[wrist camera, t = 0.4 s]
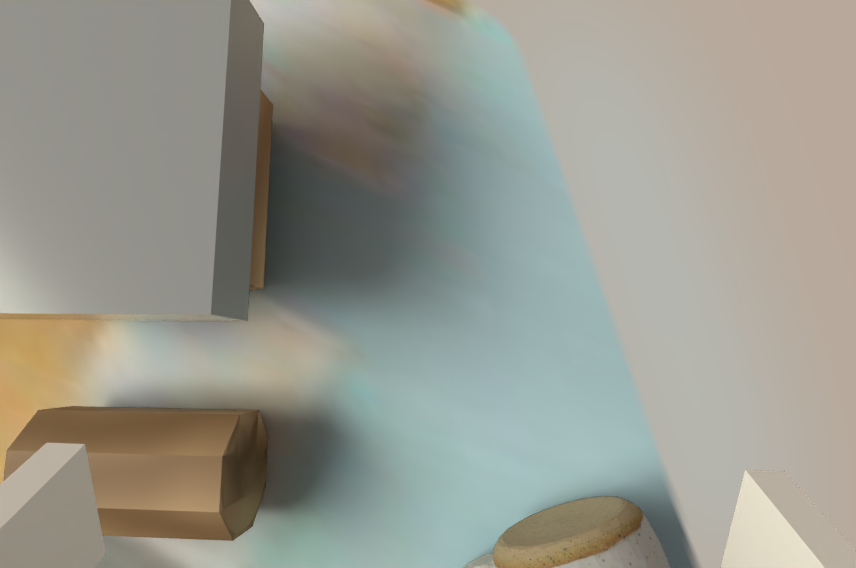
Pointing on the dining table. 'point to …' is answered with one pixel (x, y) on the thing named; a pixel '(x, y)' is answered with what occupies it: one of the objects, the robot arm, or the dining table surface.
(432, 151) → the dining table surface
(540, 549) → the ceramic mug
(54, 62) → the slab
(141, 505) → the loose roller
